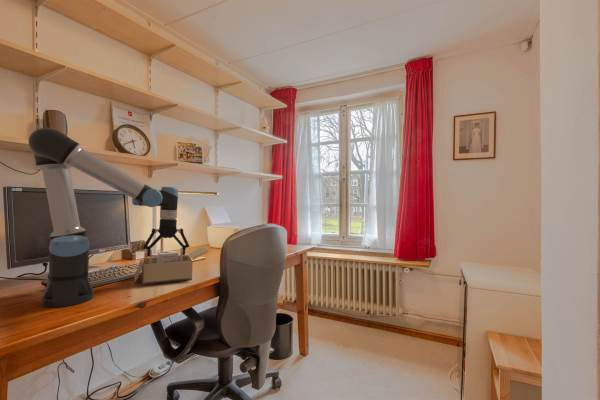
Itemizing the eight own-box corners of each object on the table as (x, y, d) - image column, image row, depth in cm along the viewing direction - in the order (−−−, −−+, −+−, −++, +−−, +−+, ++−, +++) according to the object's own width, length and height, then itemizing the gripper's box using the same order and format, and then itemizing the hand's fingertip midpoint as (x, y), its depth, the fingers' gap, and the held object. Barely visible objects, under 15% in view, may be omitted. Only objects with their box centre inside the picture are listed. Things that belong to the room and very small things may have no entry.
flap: (192, 258, 141) (208, 250, 144) (188, 253, 153) (202, 246, 156) (193, 259, 141) (208, 251, 144) (188, 254, 153) (203, 247, 156)
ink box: (159, 280, 136) (160, 254, 136) (156, 277, 140) (156, 253, 140) (178, 277, 142) (178, 252, 142) (174, 275, 146) (175, 251, 146)
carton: (134, 287, 125) (134, 266, 125) (134, 275, 144) (135, 257, 144) (193, 281, 137) (193, 261, 137) (186, 271, 156) (186, 253, 156)
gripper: (139, 218, 132) (136, 265, 131) (196, 219, 144) (194, 262, 143) (139, 217, 138) (136, 262, 138) (194, 218, 150) (191, 259, 150)
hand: (166, 262), depth 141 cm, fingers open, 13 cm apart
